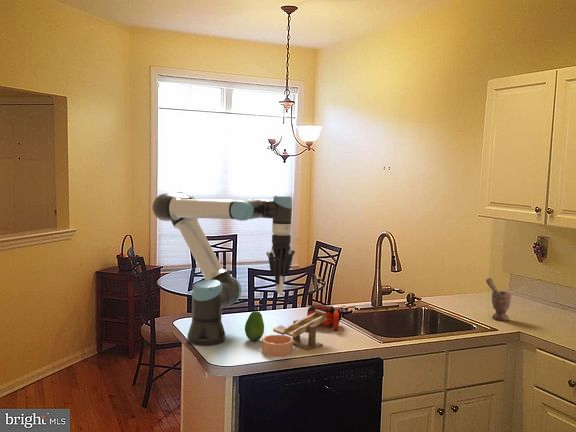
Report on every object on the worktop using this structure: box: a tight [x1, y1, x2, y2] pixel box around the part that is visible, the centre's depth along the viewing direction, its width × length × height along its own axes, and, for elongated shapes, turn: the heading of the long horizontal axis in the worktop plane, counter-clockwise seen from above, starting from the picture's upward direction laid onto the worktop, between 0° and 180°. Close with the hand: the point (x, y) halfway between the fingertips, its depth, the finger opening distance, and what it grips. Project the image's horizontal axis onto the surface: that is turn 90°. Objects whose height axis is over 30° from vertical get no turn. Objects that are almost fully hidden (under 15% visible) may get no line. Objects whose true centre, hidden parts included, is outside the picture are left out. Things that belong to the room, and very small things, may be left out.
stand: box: [291, 319, 324, 351], centre depth 212 cm, size 8×13×8 cm, turn 41°
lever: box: [272, 309, 327, 338], centre depth 214 cm, size 19×12×4 cm, turn 132°
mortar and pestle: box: [485, 277, 512, 322], centre depth 256 cm, size 12×9×20 cm
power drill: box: [306, 304, 342, 331], centre depth 238 cm, size 15×9×15 cm
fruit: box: [244, 310, 265, 342], centre depth 215 cm, size 8×8×12 cm
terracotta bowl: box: [261, 334, 294, 357], centre depth 203 cm, size 12×12×4 cm
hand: (279, 291), depth 215 cm, fingers closed
